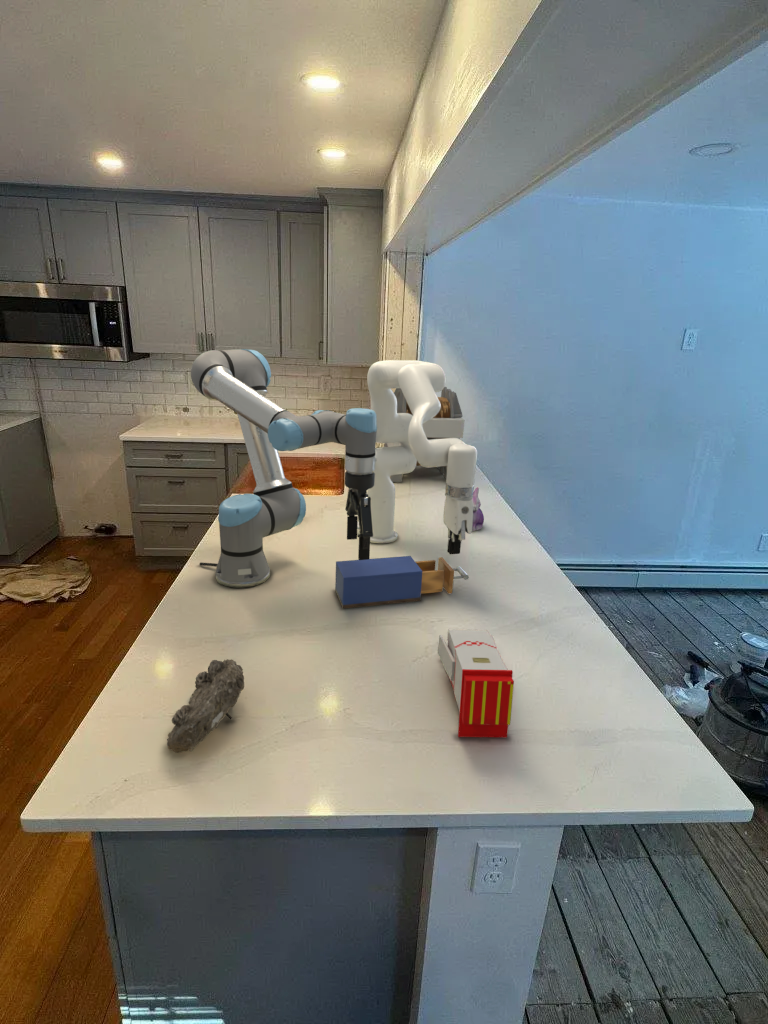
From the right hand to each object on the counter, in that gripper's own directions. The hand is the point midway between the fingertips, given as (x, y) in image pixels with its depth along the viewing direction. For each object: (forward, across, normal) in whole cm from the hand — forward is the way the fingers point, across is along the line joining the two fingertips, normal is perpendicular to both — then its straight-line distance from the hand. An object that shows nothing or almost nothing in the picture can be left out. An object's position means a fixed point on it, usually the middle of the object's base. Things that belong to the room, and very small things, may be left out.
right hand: (453, 552), depth 158 cm
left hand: (-3, 0, +28) cm, 28 cm away
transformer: (+11, +116, -31) cm, 120 cm away
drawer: (+10, 0, +9) cm, 13 cm away
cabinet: (+11, 0, +22) cm, 24 cm away
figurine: (+11, +44, -26) cm, 52 cm away
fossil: (+11, -40, +65) cm, 78 cm away
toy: (+11, -44, +14) cm, 48 cm away
